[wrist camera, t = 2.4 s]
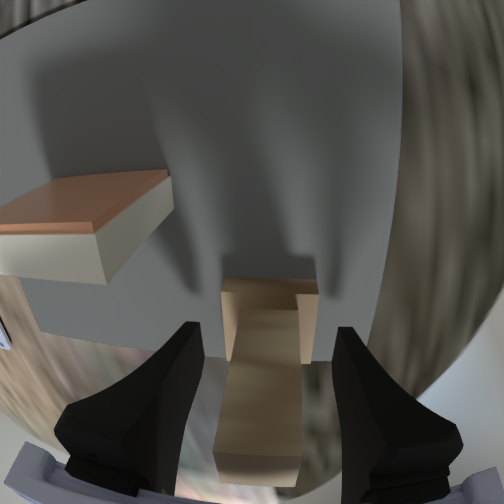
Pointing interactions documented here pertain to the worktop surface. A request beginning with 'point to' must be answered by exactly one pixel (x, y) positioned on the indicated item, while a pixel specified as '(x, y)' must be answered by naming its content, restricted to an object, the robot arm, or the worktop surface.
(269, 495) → the worktop surface
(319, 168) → the mat
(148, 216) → the tile
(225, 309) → the stepped wooden block
